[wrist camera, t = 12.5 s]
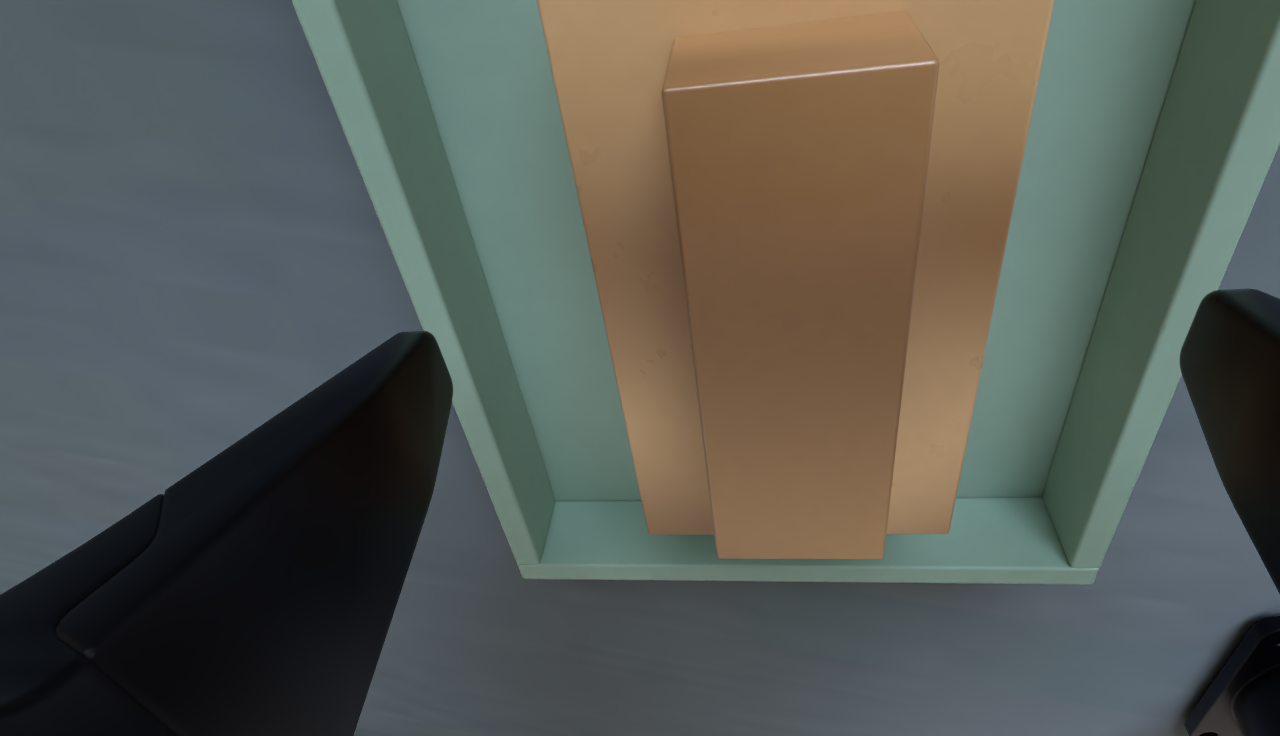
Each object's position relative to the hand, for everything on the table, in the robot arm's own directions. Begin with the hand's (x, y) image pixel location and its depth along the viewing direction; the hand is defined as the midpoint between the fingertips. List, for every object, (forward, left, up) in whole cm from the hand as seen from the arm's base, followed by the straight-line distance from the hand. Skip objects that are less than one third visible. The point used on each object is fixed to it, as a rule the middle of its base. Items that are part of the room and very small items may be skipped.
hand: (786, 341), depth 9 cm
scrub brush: (0, 0, -5) cm, 5 cm away
